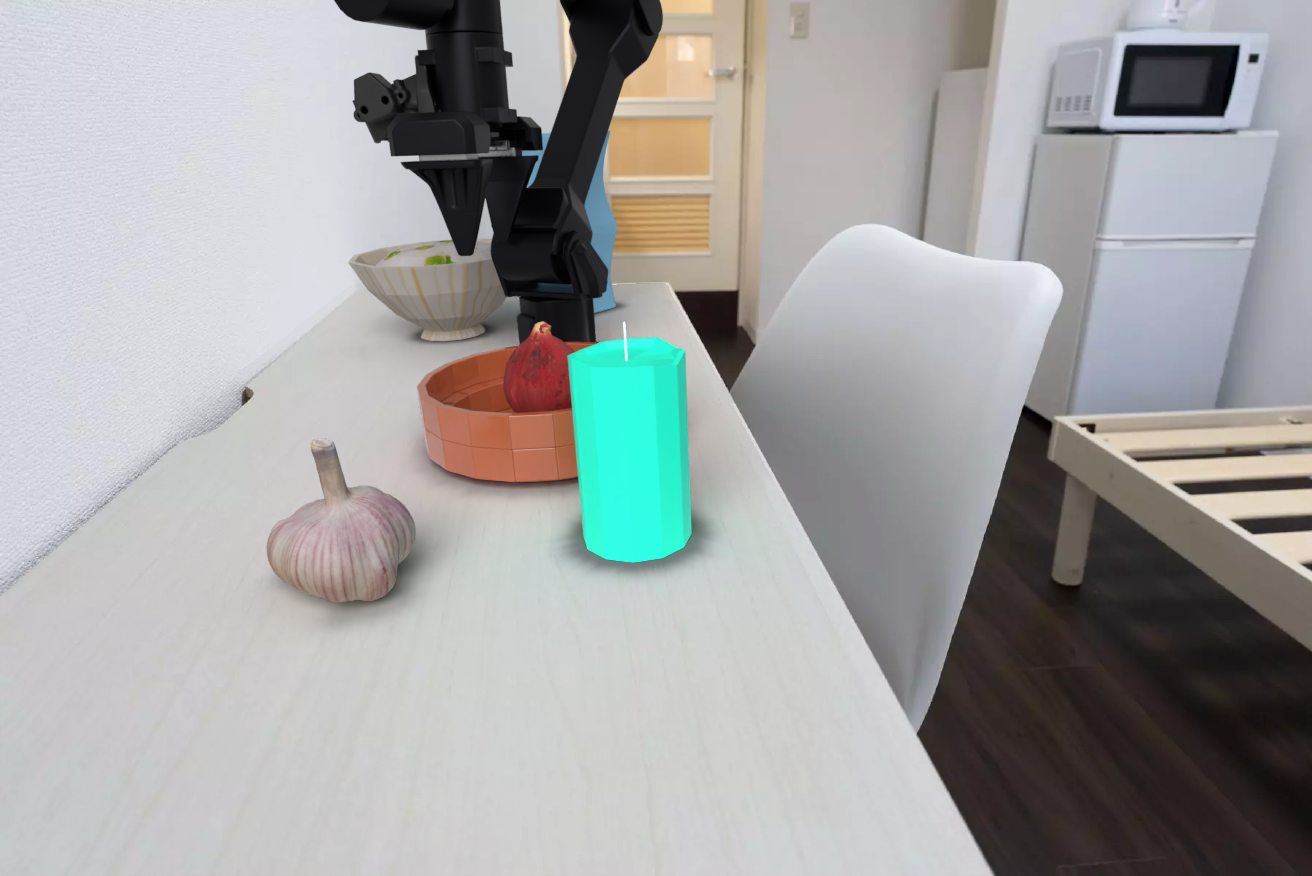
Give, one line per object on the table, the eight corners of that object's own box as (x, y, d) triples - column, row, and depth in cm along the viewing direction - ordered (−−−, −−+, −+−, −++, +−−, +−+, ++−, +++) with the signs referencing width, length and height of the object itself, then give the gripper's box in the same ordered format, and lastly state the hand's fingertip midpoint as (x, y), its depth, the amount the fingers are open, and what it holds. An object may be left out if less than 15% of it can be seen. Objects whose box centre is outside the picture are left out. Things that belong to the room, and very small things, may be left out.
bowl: (575, 321, 95) (568, 231, 91) (452, 365, 80) (437, 260, 76) (453, 307, 105) (442, 226, 101) (323, 345, 90) (305, 251, 86)
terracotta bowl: (585, 387, 71) (580, 330, 70) (719, 440, 58) (717, 372, 57) (391, 439, 62) (380, 374, 60) (499, 516, 49) (489, 437, 47)
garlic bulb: (406, 616, 39) (378, 461, 36) (248, 630, 39) (206, 474, 36) (432, 540, 46) (410, 405, 44) (298, 551, 46) (266, 415, 43)
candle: (610, 573, 42) (593, 344, 38) (566, 527, 47) (546, 319, 43) (712, 543, 45) (706, 324, 40) (660, 502, 50) (650, 303, 45)
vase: (621, 305, 101) (610, 130, 94) (574, 318, 96) (559, 134, 89) (576, 298, 106) (563, 132, 99) (529, 311, 101) (511, 135, 93)
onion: (576, 448, 57) (566, 333, 54) (497, 445, 58) (483, 333, 55) (599, 418, 62) (591, 313, 59) (525, 416, 63) (514, 313, 60)
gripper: (412, 53, 72) (434, 237, 78) (298, 26, 55) (336, 266, 60) (537, 47, 71) (550, 235, 76) (460, 18, 53) (484, 264, 59)
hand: (485, 248), depth 68 cm, fingers open, 9 cm apart
